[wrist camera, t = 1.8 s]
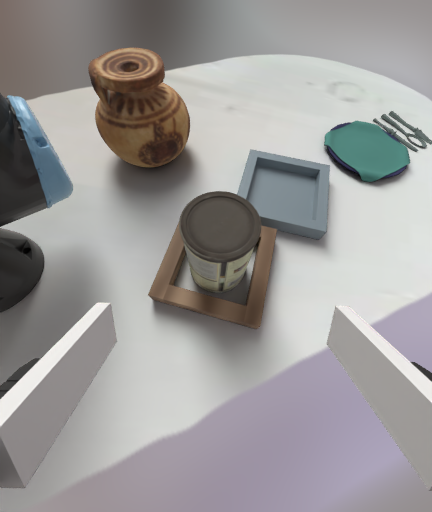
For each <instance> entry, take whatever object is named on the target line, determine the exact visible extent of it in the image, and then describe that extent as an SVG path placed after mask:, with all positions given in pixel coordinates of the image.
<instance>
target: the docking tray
mask: <svg viewBox="0 0 432 512" xmlns="http://www.w3.org/2000/svg"><path fill="white" fill-rule="evenodd" d="M329 171H330V165H325V164H320V163H315V162H310V161H305V160H300V159H296V158H291V157H286V156H281V155H276V154H271V153H266V152H261V151H256V150H251V149H250V153H249V156H248V159H247V163H246V166H245V170H244V173H243V176H242V180H241V183H240V186H239V190H238V193H237V195H239V196H241V197H243V198H245V199H246V200H247V201H249V202H250V203H251V204H252V205H253V206H254V208H255V209H256V210H257V212H258V214H259V216H260V219H261V225H262V226H266V227H270V228H274V229H277V230H280V231H284V232H288V233H292V234H297V235H301V236H305V237H309V238H313V239H318V240H319V239H320V238H321V237H322V236H323V235H324V234H325V233H326V230H327V210H328V191H329Z"/></svg>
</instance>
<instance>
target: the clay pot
mask: <svg viewBox="0 0 432 512" xmlns="http://www.w3.org/2000/svg"><path fill="white" fill-rule="evenodd" d="M88 69H89V75H90V79H91V83H92V85H93V88H94V90H95V92H96V93H97V95H98V96H99V98H100V100H99V102H98V104H97V107H96V112H95V118H96V124H97V128H98V131H99V133H100V135H101V137H102V138H103V140H104V141H105V143H106V144H107V145H108V147H109V148H110V149H111V150H112V151H113V152H114V153H115V154H116V155H117V156H119V157H120V158H121V159H123V160H124V161H126V162H128V163H130V164H133V165H136V166H140V167H157V166H162V165H164V164H166V163H168V162H170V161H172V160H173V159H175V158H176V157H177V156H178V155H179V154H180V153H181V152H182V150H183V149H184V147H185V145H186V143H187V140H188V136H189V132H190V117H189V113H188V110H187V107H186V105H185V103H184V101H183V99H182V98H181V97H180V95H179V94H178V93H177V92H176V91H175V90H174V89H173V88H171V87H170V86H168V85H166V84H164V83H162V82H163V79H164V77H165V72H164V64H163V61H162V59H161V58H160V56H159V55H158V54H156V53H155V52H153V51H151V50H148V49H141V48H123V49H117V50H113V51H110V52H107V53H105V54H103V55H102V56H100V57H98V58H97V59H94V60H92V61H91V62H90V64H89V68H88Z"/></svg>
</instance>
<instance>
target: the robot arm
mask: <svg viewBox="0 0 432 512" xmlns="http://www.w3.org/2000/svg"><path fill="white" fill-rule="evenodd" d="M72 191H73V185H72V182H71V180H70V178H69V176H68V174H67V172H66V170H65V168H64V166H63V164H62V163H61V161H60V159H59V157H58V155H57V153H56V152H55V150H54V148H53V146H52V145H51V143H50V141H49V139H48V138H47V136H46V134H45V132H44V130H43V129H42V127H41V125H40V124H39V122H38V120H37V118H36V117H35V115H34V113H33V112H32V110H31V109H30V107H29V106H28V104H27V102H26V101H25V100H24V99H23V98H21V97H13V96H7V98H6V99H5V98H4V97H3V96H2V95H1V93H0V227H1V226H3V225H6V224H8V223H11V222H13V221H16V220H18V219H21V218H23V217H26V216H28V215H31V214H33V213H36V212H38V211H41V210H43V209H46V208H50V207H51V206H52V205H53V204H55V203H57V202H59V201H61V200H63V199H65V198H67V197H69V196H70V195H71V193H72ZM43 265H44V257H43V253H42V250H41V248H40V247H39V246H38V245H37V244H36V243H35V242H34V241H32V240H31V239H29V238H28V237H26V236H24V235H22V234H20V233H17V232H14V231H10V230H6V229H2V228H0V312H2V311H4V310H6V309H8V308H10V307H12V306H13V305H15V304H16V303H18V302H19V301H20V300H22V299H23V298H24V297H25V296H26V295H27V294H28V293H29V292H30V291H31V290H32V289H33V287H34V286H35V285H36V283H37V281H38V280H39V278H40V276H41V273H42V270H43ZM116 342H117V339H116V333H115V327H114V321H113V315H112V309H111V303H96V304H95V305H94V306H93V307H92V308H91V309H90V310H89V311H88V312H87V313H86V314H85V315H84V316H83V317H82V318H81V319H80V320H79V321H78V322H77V323H76V324H75V325H74V326H73V327H72V328H71V329H70V330H69V331H68V332H67V333H66V334H65V335H64V336H63V337H62V338H61V339H60V340H59V341H58V342H57V343H56V344H55V345H54V346H53V347H52V348H51V349H50V350H49V351H48V352H47V353H46V354H45V355H44V356H43V357H42V358H41V359H33V360H32V361H30V362H28V363H27V364H25V365H24V366H22V367H21V368H19V369H18V370H17V371H16V372H15V373H14V374H13V375H12V376H11V377H10V378H9V379H8V380H7V382H4V383H3V384H2V385H1V386H0V487H1V488H25V487H26V486H27V484H28V482H29V481H30V479H31V478H32V476H33V474H34V473H35V471H36V470H37V468H38V466H39V465H40V463H41V462H42V460H43V459H44V457H45V455H46V454H47V452H48V451H49V449H50V447H51V446H52V444H53V443H54V441H55V439H56V438H57V436H58V435H59V433H60V431H61V430H62V428H63V427H64V425H65V423H66V422H67V420H68V419H69V417H70V415H71V414H72V412H73V411H74V409H75V407H76V406H77V404H78V403H79V401H80V400H81V398H82V396H83V395H84V393H85V392H86V390H87V388H88V387H89V385H90V384H91V382H92V380H93V379H94V377H95V376H96V374H97V372H98V371H99V369H100V368H101V366H102V364H103V363H104V361H105V360H106V358H107V356H108V355H109V353H110V352H111V350H112V348H113V347H114V345H115V344H116ZM327 345H328V347H329V348H330V350H331V351H332V352H333V354H334V355H335V357H336V358H337V360H338V361H339V362H340V364H341V365H342V367H343V368H344V370H345V371H346V372H347V374H348V375H349V377H350V378H351V380H352V381H353V382H354V384H355V385H356V387H357V388H358V390H359V391H360V392H361V394H362V395H363V397H364V398H365V400H366V401H367V403H368V404H369V405H370V407H371V408H372V410H373V411H374V413H375V414H376V415H377V417H378V418H379V420H380V421H381V422H382V424H383V425H384V427H385V428H386V430H387V431H388V433H389V434H390V435H391V437H392V438H393V440H394V441H395V443H396V444H397V446H398V447H399V448H400V450H401V451H402V453H403V454H404V455H405V457H406V458H407V460H408V461H409V463H410V464H411V466H412V467H413V468H414V470H415V471H416V473H417V474H418V476H419V477H420V478H421V480H422V481H423V483H424V484H425V486H426V487H427V488H428V490H429V491H432V373H431V372H430V371H428V370H426V369H425V368H423V367H422V366H420V365H418V364H417V363H415V362H409V361H408V360H407V359H406V358H405V357H404V356H403V355H402V354H400V353H399V352H398V351H397V350H396V349H395V348H394V347H393V346H392V345H391V344H390V343H388V342H387V341H386V340H385V339H384V338H383V337H382V336H381V335H380V334H379V333H377V332H376V331H375V330H374V329H373V328H372V327H371V326H370V325H369V324H368V323H367V322H366V321H364V320H363V319H362V318H361V317H360V316H359V315H358V314H357V313H356V312H355V311H353V310H352V309H351V308H350V307H349V306H335V311H334V315H333V319H332V323H331V328H330V332H329V336H328V340H327Z"/></svg>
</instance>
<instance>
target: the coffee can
mask: <svg viewBox="0 0 432 512" xmlns="http://www.w3.org/2000/svg"><path fill="white" fill-rule="evenodd" d="M179 231H180V235H181V237H182V240H183V242H184V246H185V250H186V254H187V258H188V262H189V265H190V271H191V275H192V277H193V279H194V281H195V282H196V283H197V284H198V285H199V286H200V287H201V288H203V289H205V290H207V291H210V292H215V293H221V292H226V291H229V290H231V289H233V288H234V287H236V286H237V285H238V284H239V283H240V282H241V280H242V278H243V277H244V273H245V270H246V267H247V265H248V262H249V260H250V257H251V255H252V252H253V249H254V247H255V245H256V244H257V242H258V240H259V237H260V234H261V219H260V216H259V214H258V212H257V210H256V209H255V208H254V206H253V205H252V204H251V203H250V202H249V201H247V200H246V199H245V198H243V197H241V196H239V195H236V194H234V193H230V192H222V191H216V192H209V193H205V194H202V195H200V196H198V197H196V198H195V199H193V200H192V201H191V202H189V203H188V204H187V206H186V207H185V208H184V210H183V211H182V214H181V216H180V220H179Z"/></svg>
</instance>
